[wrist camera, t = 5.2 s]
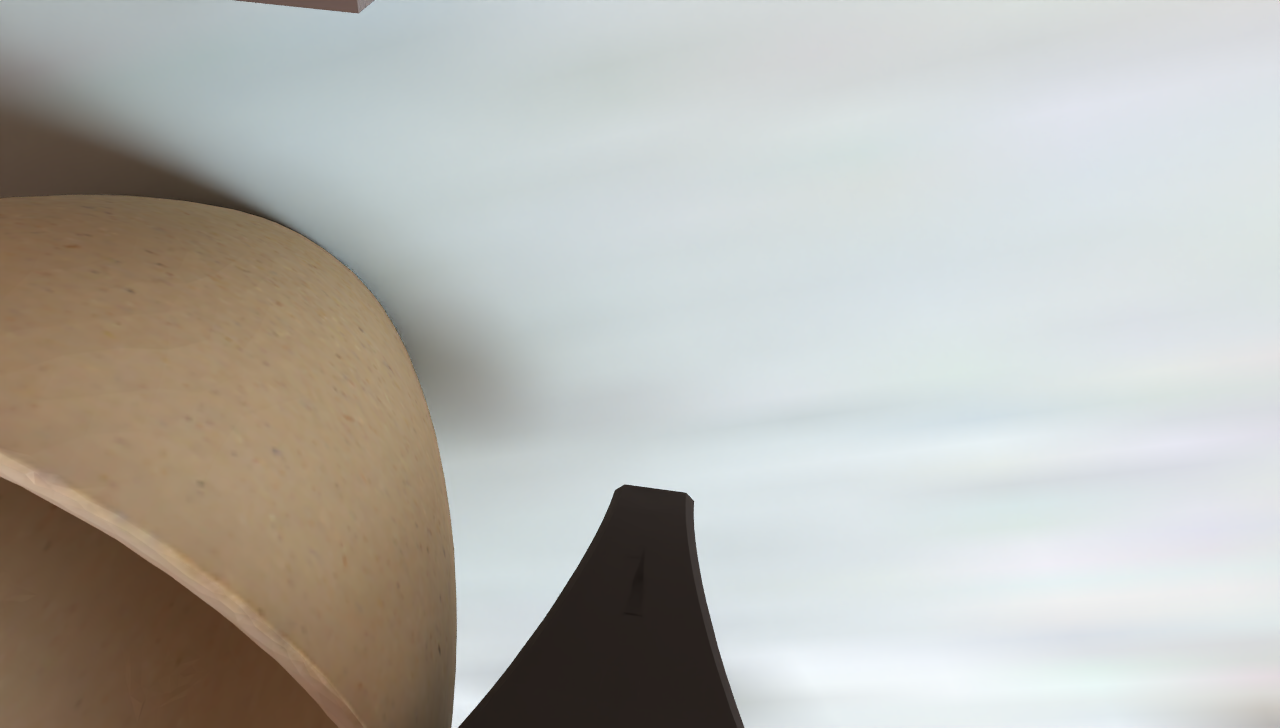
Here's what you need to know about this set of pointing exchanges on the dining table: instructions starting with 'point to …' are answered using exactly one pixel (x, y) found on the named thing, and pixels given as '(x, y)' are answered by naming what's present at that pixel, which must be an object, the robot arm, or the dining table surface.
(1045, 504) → the dining table surface
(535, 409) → the dining table surface
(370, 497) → the flower pot
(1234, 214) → the dining table surface
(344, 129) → the dining table surface
